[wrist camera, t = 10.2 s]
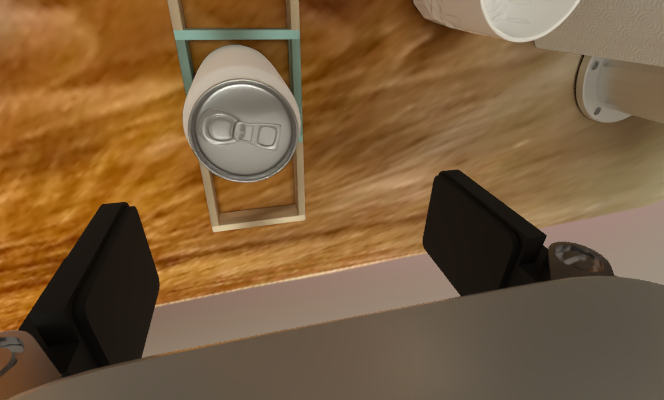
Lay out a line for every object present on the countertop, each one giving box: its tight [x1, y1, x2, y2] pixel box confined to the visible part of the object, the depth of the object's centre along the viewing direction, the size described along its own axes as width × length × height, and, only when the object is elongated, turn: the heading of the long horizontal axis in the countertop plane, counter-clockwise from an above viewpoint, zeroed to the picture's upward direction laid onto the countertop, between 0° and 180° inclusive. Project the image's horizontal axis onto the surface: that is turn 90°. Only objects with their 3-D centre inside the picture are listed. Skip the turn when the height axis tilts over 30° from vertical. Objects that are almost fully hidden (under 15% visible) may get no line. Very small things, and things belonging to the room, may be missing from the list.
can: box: [183, 45, 301, 183], centre depth 23 cm, size 6×6×12 cm
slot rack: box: [167, 0, 305, 232], centre depth 27 cm, size 9×25×2 cm, turn 0°
